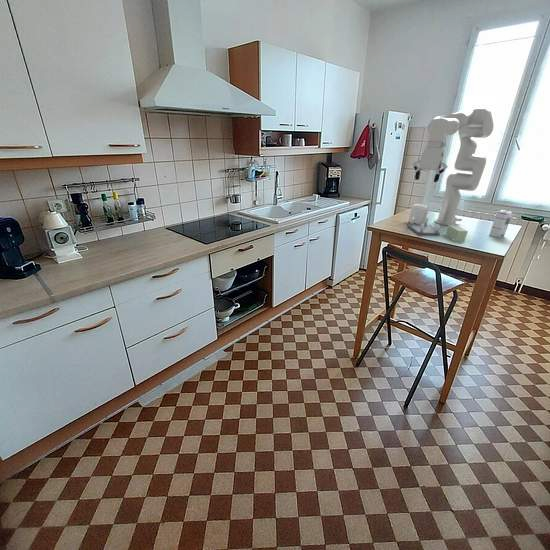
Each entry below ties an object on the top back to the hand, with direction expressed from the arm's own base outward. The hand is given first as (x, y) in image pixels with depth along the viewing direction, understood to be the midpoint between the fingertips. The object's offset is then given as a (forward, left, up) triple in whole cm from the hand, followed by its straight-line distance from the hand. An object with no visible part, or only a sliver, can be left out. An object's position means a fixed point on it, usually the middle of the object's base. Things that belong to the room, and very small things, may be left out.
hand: (425, 180), depth 156 cm
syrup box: (-51, -5, -30) cm, 59 cm away
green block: (-23, +3, -30) cm, 38 cm away
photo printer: (-13, -26, -30) cm, 42 cm away
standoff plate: (-10, -9, -30) cm, 33 cm away
